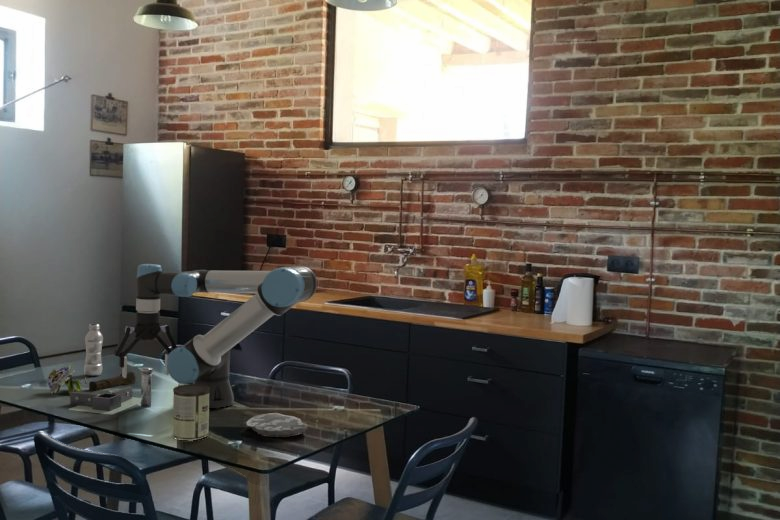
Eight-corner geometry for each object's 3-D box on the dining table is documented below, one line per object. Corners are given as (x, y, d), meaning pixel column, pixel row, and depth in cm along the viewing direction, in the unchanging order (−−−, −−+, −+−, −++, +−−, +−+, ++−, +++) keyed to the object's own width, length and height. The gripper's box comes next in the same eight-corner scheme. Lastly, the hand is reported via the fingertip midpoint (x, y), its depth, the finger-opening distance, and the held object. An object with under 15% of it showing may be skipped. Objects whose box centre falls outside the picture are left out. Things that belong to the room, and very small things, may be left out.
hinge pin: (154, 406, 238) (155, 367, 237) (147, 409, 234) (148, 370, 233) (143, 405, 238) (144, 366, 238) (137, 408, 235) (138, 369, 234)
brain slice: (233, 429, 217) (233, 419, 217) (279, 420, 229) (279, 411, 229) (270, 445, 204) (271, 435, 203) (317, 435, 215) (318, 425, 215)
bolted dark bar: (132, 397, 245) (133, 386, 245) (115, 405, 235) (115, 392, 235) (129, 397, 245) (129, 386, 245) (111, 404, 235) (111, 392, 235)
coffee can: (177, 430, 213) (178, 383, 212) (212, 431, 214) (213, 384, 213) (167, 441, 203) (168, 391, 202) (204, 442, 203) (205, 393, 203)
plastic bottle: (84, 374, 280) (85, 323, 279) (103, 373, 282) (104, 323, 281) (82, 377, 274) (83, 325, 273) (101, 377, 276) (102, 325, 275)
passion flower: (53, 410, 248) (37, 380, 250) (81, 398, 256) (66, 369, 258) (65, 397, 241) (49, 366, 243) (94, 386, 250) (78, 356, 252)
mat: (148, 400, 245) (149, 398, 245) (112, 416, 225) (112, 414, 225) (107, 395, 249) (107, 394, 249) (67, 411, 228) (67, 409, 228)
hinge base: (121, 406, 234) (121, 394, 234) (109, 411, 228) (110, 398, 228) (77, 401, 238) (77, 389, 238) (65, 406, 232) (65, 394, 232)
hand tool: (95, 393, 252) (95, 380, 252) (88, 391, 255) (88, 378, 254) (139, 384, 268) (140, 372, 268) (132, 382, 271) (133, 370, 270)
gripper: (182, 308, 244) (180, 370, 246) (105, 310, 231) (103, 375, 232) (189, 311, 238) (187, 375, 239) (110, 314, 225) (108, 380, 226)
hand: (145, 375), depth 236 cm, fingers open, 13 cm apart
